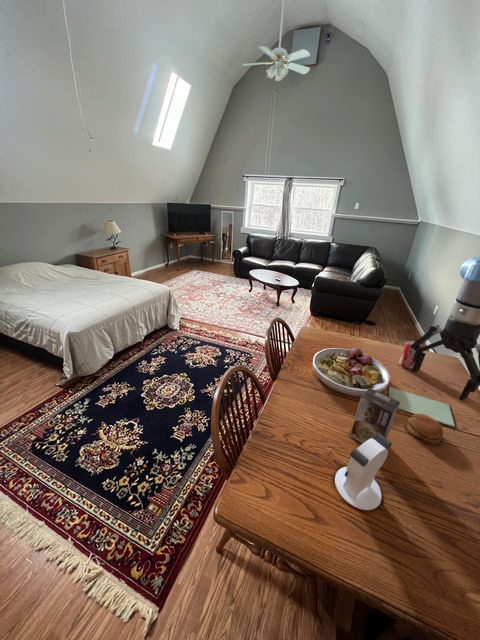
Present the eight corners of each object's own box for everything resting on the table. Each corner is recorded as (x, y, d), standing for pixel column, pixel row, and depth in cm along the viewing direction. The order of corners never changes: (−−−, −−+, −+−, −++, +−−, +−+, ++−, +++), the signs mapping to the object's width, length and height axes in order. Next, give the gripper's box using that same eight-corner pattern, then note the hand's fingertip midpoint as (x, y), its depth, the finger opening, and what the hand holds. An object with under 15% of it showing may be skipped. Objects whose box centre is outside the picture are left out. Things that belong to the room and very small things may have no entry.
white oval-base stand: (354, 459, 78) (366, 420, 71) (391, 493, 69) (410, 453, 63) (325, 479, 71) (337, 439, 65) (363, 519, 63) (380, 478, 57)
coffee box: (386, 442, 84) (401, 402, 77) (378, 454, 79) (394, 413, 73) (357, 424, 89) (369, 386, 83) (348, 435, 85) (360, 395, 78)
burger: (445, 447, 83) (451, 436, 81) (412, 441, 84) (417, 430, 82) (431, 423, 91) (436, 413, 90) (402, 418, 93) (406, 408, 91)
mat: (448, 405, 100) (448, 404, 100) (454, 427, 90) (455, 426, 90) (389, 387, 108) (389, 386, 108) (388, 406, 98) (389, 405, 98)
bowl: (381, 412, 95) (388, 395, 92) (301, 382, 109) (304, 366, 105) (389, 371, 118) (394, 356, 115) (322, 350, 132) (325, 336, 129)
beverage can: (397, 366, 122) (406, 343, 117) (399, 360, 127) (407, 338, 122) (413, 371, 119) (422, 348, 114) (414, 365, 124) (423, 342, 119)
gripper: (411, 304, 79) (391, 364, 88) (520, 344, 59) (479, 417, 68) (427, 301, 82) (405, 359, 91) (535, 338, 62) (494, 408, 71)
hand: (437, 384), depth 79 cm, fingers open, 13 cm apart
